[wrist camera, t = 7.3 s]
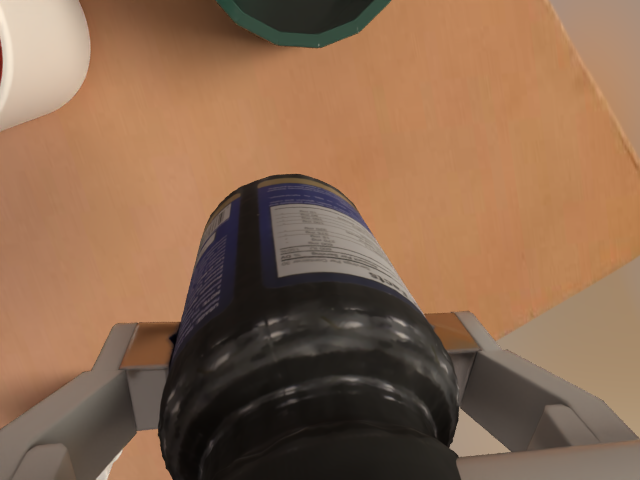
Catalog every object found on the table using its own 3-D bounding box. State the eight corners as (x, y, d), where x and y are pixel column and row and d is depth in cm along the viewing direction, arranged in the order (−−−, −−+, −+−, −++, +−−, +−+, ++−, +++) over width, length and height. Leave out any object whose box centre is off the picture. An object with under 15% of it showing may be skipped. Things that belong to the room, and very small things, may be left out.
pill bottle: (255, 337, 17) (261, 751, 7) (165, 220, 14) (-33, 640, 4) (389, 270, 16) (592, 616, 7) (323, 135, 14) (507, 391, 4)
